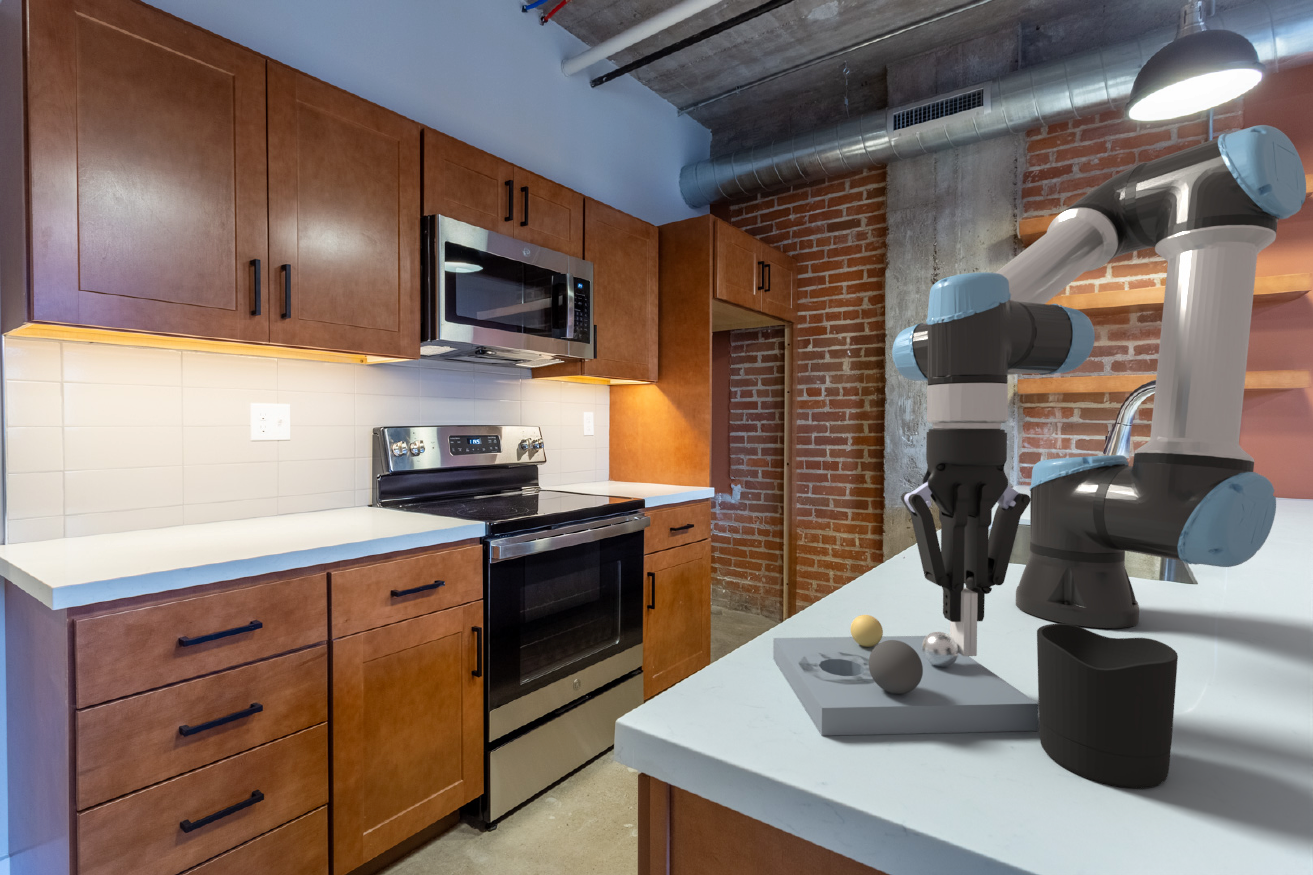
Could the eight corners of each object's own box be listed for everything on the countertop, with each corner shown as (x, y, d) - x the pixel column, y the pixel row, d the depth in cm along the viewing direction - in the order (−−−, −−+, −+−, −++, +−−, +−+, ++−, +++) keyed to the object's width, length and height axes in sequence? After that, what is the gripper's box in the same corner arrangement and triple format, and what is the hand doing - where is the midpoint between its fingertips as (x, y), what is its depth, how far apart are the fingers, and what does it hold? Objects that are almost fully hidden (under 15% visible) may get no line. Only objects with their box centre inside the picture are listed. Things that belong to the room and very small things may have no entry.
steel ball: (951, 653, 67) (942, 622, 67) (969, 666, 64) (960, 634, 63) (921, 663, 67) (912, 632, 67) (937, 676, 64) (928, 644, 63)
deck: (938, 656, 75) (938, 635, 75) (1037, 730, 57) (1038, 703, 57) (773, 658, 74) (773, 637, 73) (821, 735, 56) (821, 707, 56)
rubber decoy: (908, 680, 61) (908, 632, 61) (932, 702, 57) (933, 650, 57) (860, 681, 61) (861, 633, 61) (880, 703, 56) (881, 651, 56)
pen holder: (1103, 729, 57) (1105, 621, 57) (1207, 788, 48) (1210, 660, 48) (1009, 736, 56) (1011, 625, 55) (1098, 799, 46) (1101, 666, 46)
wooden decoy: (875, 640, 73) (875, 610, 73) (887, 651, 69) (888, 620, 69) (845, 640, 73) (846, 610, 73) (857, 651, 69) (857, 620, 69)
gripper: (1003, 426, 69) (1000, 637, 69) (889, 426, 68) (887, 639, 69) (1050, 426, 61) (1046, 663, 62) (922, 426, 61) (919, 666, 61)
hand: (962, 651), depth 65 cm, fingers closed
